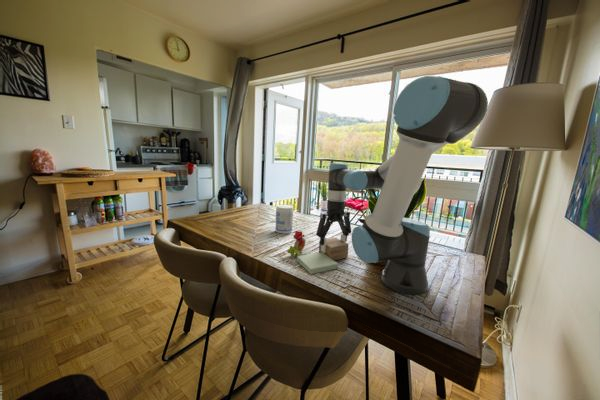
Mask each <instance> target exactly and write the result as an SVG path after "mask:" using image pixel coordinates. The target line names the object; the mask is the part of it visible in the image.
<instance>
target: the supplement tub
mask: <svg viewBox="0 0 600 400" xmlns="http://www.w3.org/2000/svg"><path fill="white" fill-rule="evenodd" d="M275 209H276V212H275V232H276V233H278V234H285V235H288V234H291V233H292V232H293V226H294V225H293V224H294V206H293V205H290V204H278V205H276V208H275Z"/></svg>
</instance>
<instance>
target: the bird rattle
mask: <svg viewBox="0 0 600 400" xmlns="http://www.w3.org/2000/svg"><path fill="white" fill-rule="evenodd" d="M294 233H295V234H293V239H295V242H294V245H290V246H289V248H288V249H287V253H288V254H290V255H291V256H294V255H297V256H302V254H301V253H302V252H303V250H304V248H305V245H306V238H305V234H303V231H299V230H295V231H294Z"/></svg>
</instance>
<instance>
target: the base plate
mask: <svg viewBox="0 0 600 400" xmlns="http://www.w3.org/2000/svg"><path fill="white" fill-rule="evenodd" d="M296 262H298V263H299V265H301V266H302V267H303V268H304V269H305V270H306V271H307V272H308V274H310V275H313V274H316V273H322V272H326V271H327V272H328V271H331V270H336V269H338V266H339V263H338V262H337V261H336V260H332V259H331V258H330V257H328V256H327V255H325V254H324V253H323V252H320V253H319V252H315V253H310V254H309V253H308V254H303V255H302V254H301V256H298V255H297V256H296Z"/></svg>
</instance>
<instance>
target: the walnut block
mask: <svg viewBox="0 0 600 400" xmlns="http://www.w3.org/2000/svg"><path fill="white" fill-rule="evenodd" d="M318 241H319V243H318V253H320V252H322V251H321V244H320V240H318ZM324 254H325V255H327V256H328V257H330V258H331V259H332V260H334V261H338V260H342V259H345V258H348V257H349V243H348V242H343V241H341V239H339V238H337V237H331V238H327V240H326V253H324Z"/></svg>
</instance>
